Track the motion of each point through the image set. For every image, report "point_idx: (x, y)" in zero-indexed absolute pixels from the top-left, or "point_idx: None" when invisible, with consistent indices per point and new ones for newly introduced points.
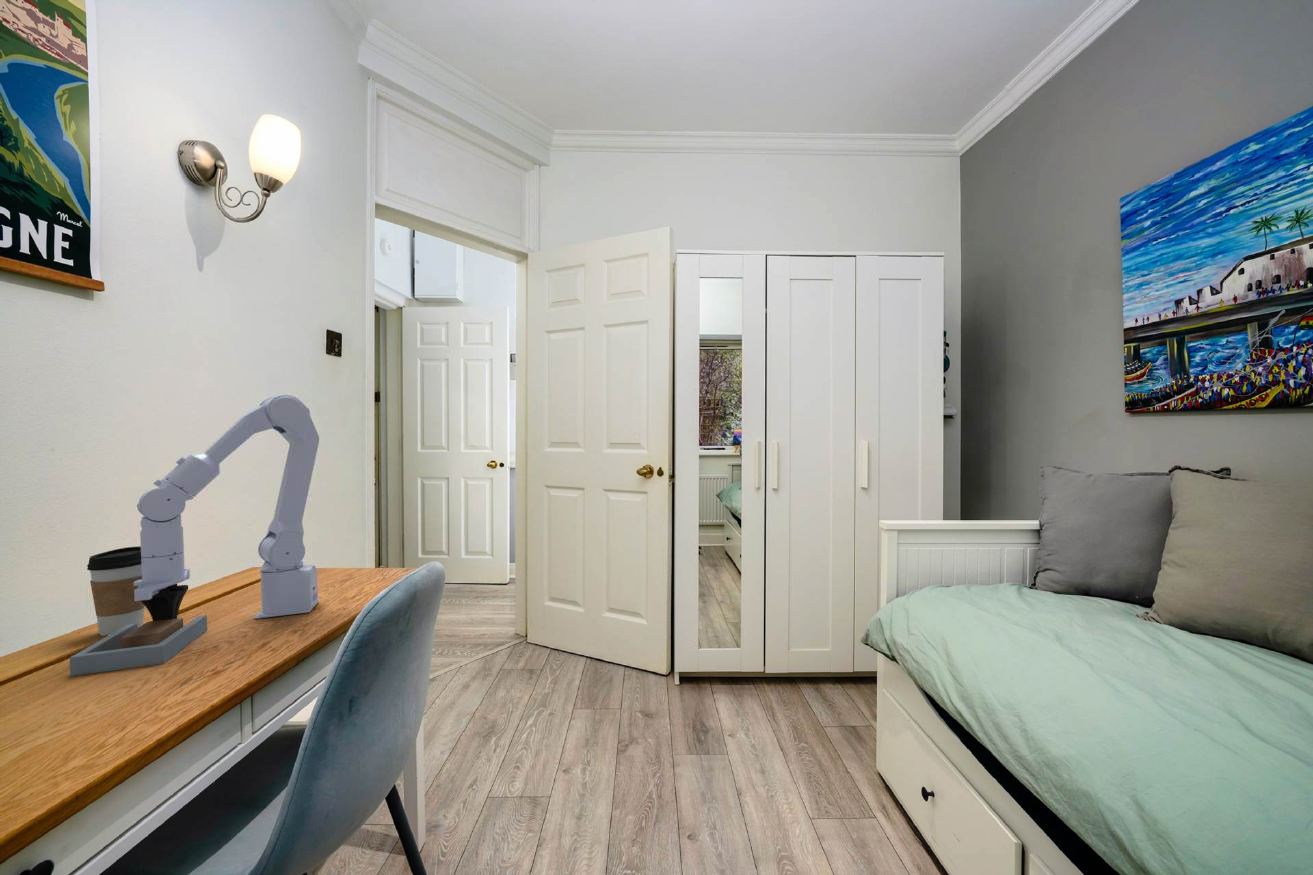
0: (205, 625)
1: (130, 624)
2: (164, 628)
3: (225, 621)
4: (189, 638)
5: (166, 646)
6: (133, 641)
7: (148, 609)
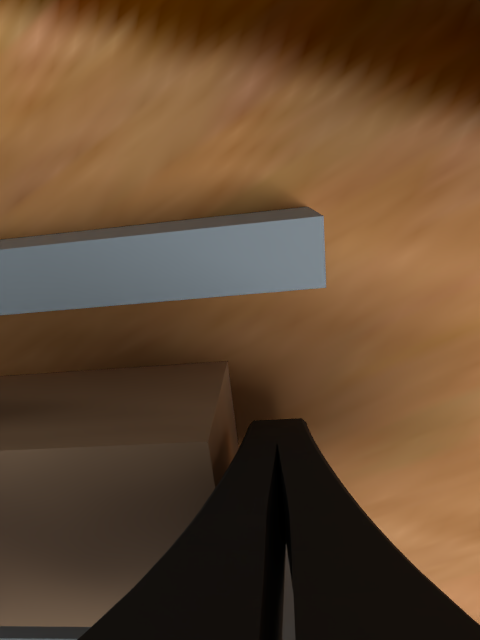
0: None
1: (300, 243)
2: (5, 613)
3: (466, 597)
4: None
5: None
6: None
7: (154, 567)
